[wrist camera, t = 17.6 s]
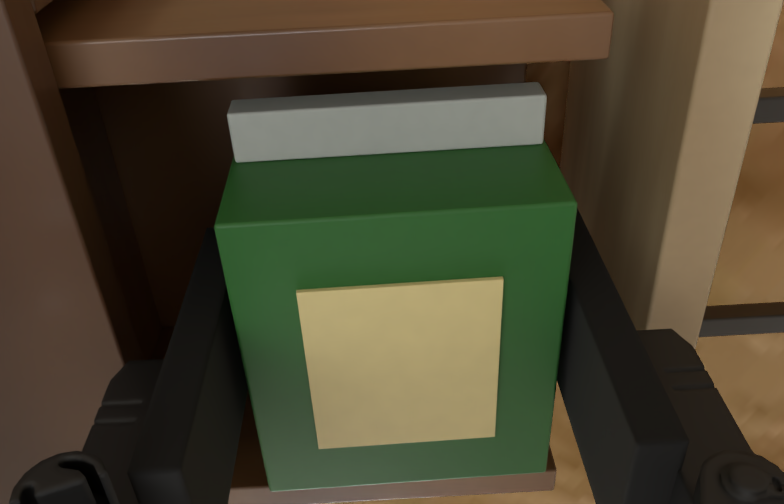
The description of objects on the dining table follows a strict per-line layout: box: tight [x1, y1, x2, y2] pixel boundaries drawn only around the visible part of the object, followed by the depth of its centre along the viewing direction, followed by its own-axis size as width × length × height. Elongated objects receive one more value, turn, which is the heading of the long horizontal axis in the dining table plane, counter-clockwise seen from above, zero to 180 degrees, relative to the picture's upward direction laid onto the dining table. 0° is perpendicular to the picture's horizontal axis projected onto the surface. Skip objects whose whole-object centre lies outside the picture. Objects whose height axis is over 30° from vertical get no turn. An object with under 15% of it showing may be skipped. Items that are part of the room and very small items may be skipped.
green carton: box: [214, 82, 578, 492], centre depth 16 cm, size 9×6×5 cm
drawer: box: [35, 0, 784, 504], centre depth 18 cm, size 20×14×8 cm, turn 93°
